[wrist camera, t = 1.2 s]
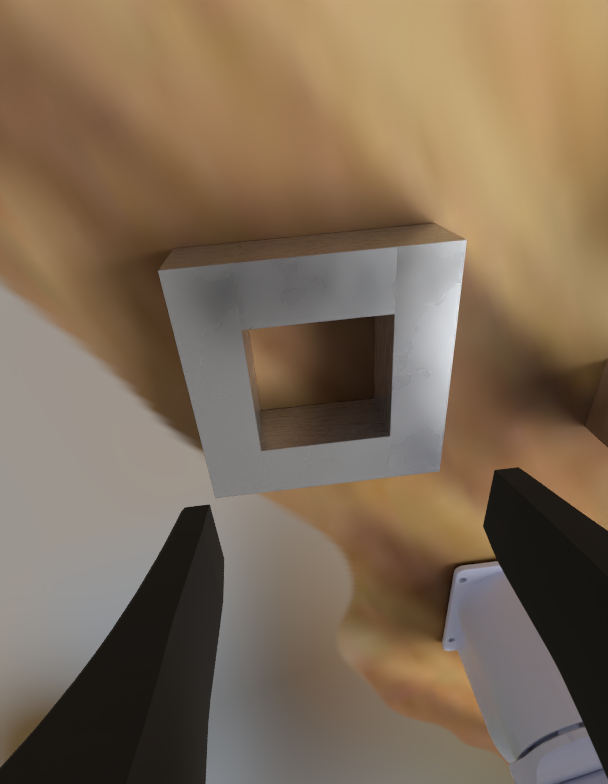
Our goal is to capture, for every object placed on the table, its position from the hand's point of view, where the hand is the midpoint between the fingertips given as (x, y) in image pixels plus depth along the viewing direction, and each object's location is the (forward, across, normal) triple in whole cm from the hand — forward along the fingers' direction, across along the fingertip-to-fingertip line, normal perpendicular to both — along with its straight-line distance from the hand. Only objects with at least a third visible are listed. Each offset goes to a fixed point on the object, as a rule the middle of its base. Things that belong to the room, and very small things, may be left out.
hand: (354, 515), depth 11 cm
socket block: (+9, 0, 0) cm, 9 cm away
